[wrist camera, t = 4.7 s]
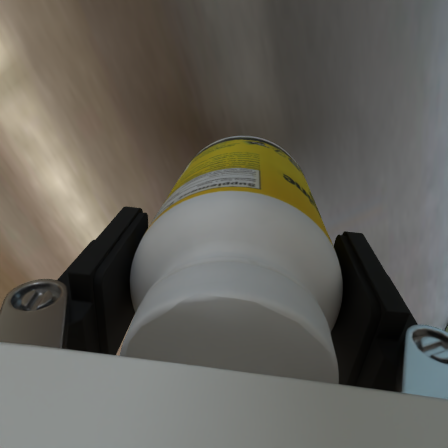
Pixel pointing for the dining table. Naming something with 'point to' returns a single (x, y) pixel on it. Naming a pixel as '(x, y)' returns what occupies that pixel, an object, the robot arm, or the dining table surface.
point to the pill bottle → (238, 269)
